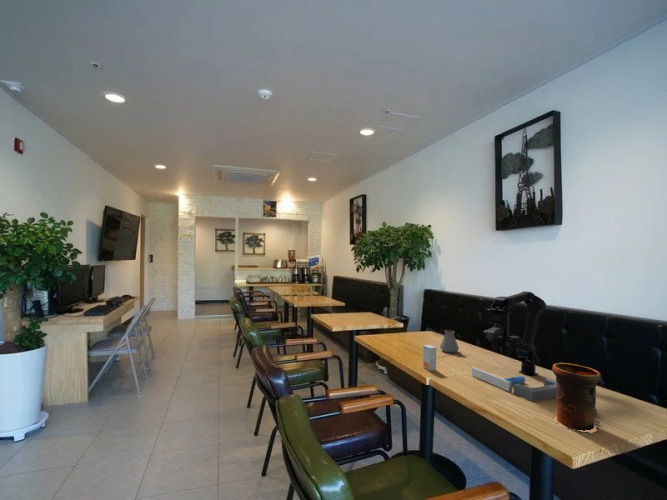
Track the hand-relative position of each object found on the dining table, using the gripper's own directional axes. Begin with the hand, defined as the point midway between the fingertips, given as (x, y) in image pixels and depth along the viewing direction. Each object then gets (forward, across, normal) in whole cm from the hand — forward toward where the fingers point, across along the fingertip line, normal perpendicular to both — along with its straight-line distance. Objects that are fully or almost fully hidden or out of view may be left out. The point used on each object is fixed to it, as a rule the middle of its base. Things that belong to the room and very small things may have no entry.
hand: (501, 353), depth 169 cm
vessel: (+12, +44, -13) cm, 48 cm away
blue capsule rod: (+12, +7, 0) cm, 14 cm away
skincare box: (+12, -22, -26) cm, 37 cm away
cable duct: (+12, +21, +1) cm, 24 cm away
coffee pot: (+12, -49, +4) cm, 50 cm away
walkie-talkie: (+13, +39, -1) cm, 41 cm away
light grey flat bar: (+12, +4, -11) cm, 17 cm away
